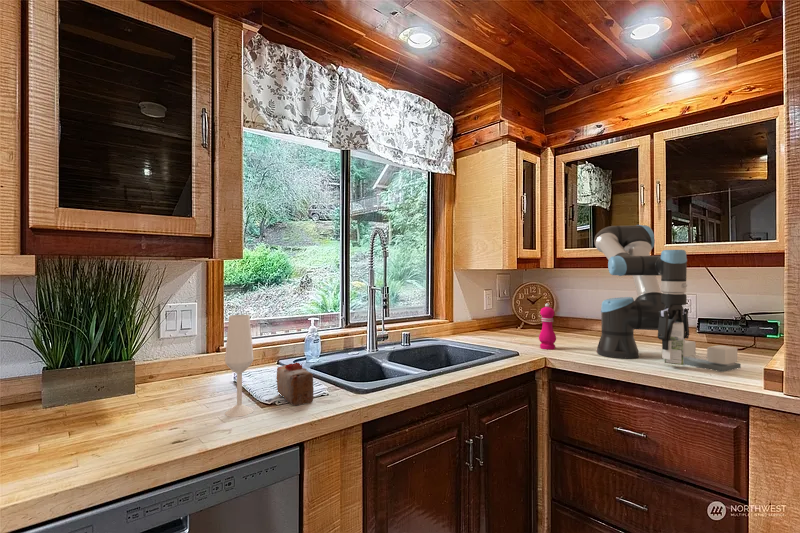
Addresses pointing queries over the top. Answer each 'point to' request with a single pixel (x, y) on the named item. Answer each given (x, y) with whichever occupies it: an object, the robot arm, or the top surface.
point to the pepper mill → (547, 329)
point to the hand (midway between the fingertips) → (673, 357)
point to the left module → (690, 348)
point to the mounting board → (710, 365)
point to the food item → (295, 384)
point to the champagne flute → (239, 357)
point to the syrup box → (676, 344)
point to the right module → (722, 354)
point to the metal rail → (705, 360)
